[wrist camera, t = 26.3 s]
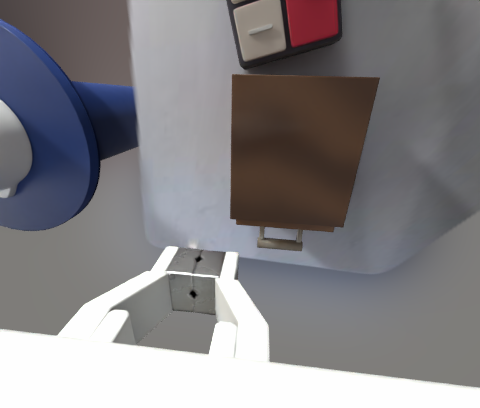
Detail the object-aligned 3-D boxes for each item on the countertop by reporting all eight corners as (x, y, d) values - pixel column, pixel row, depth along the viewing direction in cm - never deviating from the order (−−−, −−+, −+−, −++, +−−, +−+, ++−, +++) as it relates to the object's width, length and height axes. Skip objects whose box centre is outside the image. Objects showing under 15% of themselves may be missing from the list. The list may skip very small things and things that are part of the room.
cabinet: (324, 195, 34) (343, 227, 26) (239, 189, 35) (230, 219, 27) (345, 83, 28) (380, 77, 20) (242, 81, 29) (232, 74, 21)
